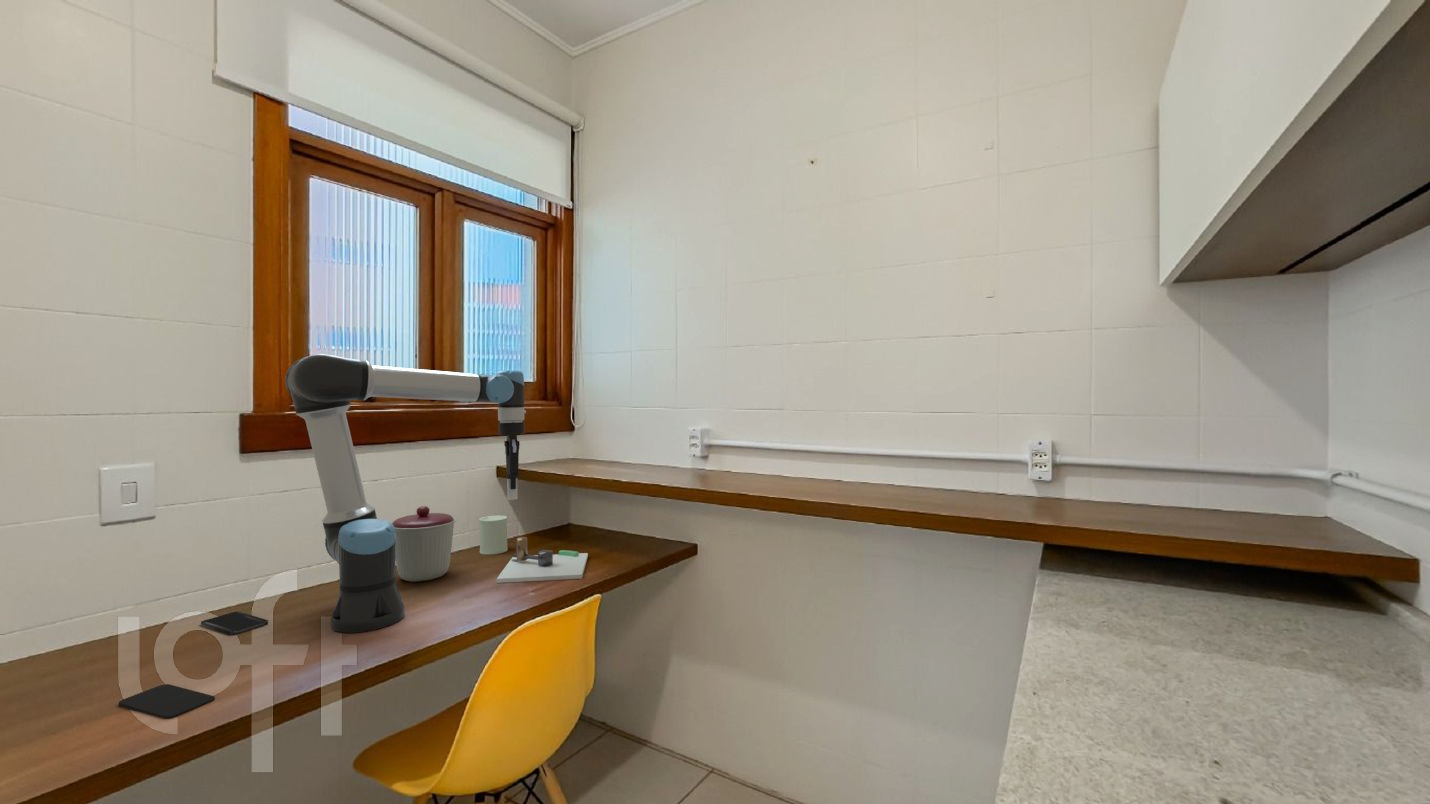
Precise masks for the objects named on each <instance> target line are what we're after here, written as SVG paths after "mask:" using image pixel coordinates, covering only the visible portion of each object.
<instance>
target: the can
mask: <svg viewBox="0 0 1430 804" xmlns="http://www.w3.org/2000/svg"><path fill="white" fill-rule="evenodd" d="M478 521H479V554H481V555H486V556H487V555H490V556H491V555H498V554H503V553H505V552H508V550H509V549H508V516H507V515H488V516H483V517H479V519H478Z"/></svg>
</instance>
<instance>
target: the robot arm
mask: <svg viewBox="0 0 1430 804" xmlns="http://www.w3.org/2000/svg"><path fill="white" fill-rule="evenodd" d="M285 375H286V376H285V386H286V389H287V390H288V392H289V394H290V395H291V398H292V401H293V406H294V412H295V415H296V416H299V418H302V419H304V421H305V424H306V429H307V432H308V437H309V441H310V446H311V449H312V453H313V457H314V461H315V462H314V463H315V466H316V470H317V474H318V477H319V482H320V487H321V490H322V495H323V499H324V503H325V506H326V507H325V508H326V511H327V513H326V515H325V516H324V518H323V519H322V526H323V529H324V530H323V531H324V534H325V537H324V538H325V539H324V541H325V542H324V546H325V550H326V552H327V554H328V555H329V556H330V557H331V559H332V560H334V561H335V562H336V563H337V564H338V565H339V567H338V568H339V573H338V574H339V594H338V597H337V600H336V604H335V606H334V609H333V612H332V615H331V620H330V621H331V624H330V625H331V630H333V631H335V632H338V633H348V634H349V633H350V634H351V633H353V634H354V633H362V632H368V631H373V630H378V629H382V628H385V627H388V626H391V625H393V624H395V623H398V622H399V621H401V620H402V619H403V618H404V617H405V604H404V602H403V598H402V597H401V594H400V592H399V589H398V587H397V586H398V585H397V579H396V575H397V574H396V573H397V572H396V569H397V565H396V559H395V540H396V534H395V529H394V526H393V524H392V522H391V521H389V520H385V519H379V518H378V516H377V513H376V508H375V507H374V506H373V505H370V504H369V503H368V502H367V501H366V500H367V499H366V496H365V491H364V486H363V483H362V479H361V474H360V469H359V466H358V461H357V457H356V452H355V447H354V444H353V440H352V439H353V438H352V435H351V431H350V426H349V422H348V418H347V414H346V413H347V411H348V410H349V409H350V408H351V405H352V404H351V401H366V400H368V398H370V397H374V398H390V399H391V398H394V399H395V398H396V399H410V400H411V399H413V400H435V401H436V400H437V401H455V402H456V401H457V402H458V403H462V404H463V403H466V404H474V403H476V404H477V403H482V404H483V403H484V404H486V403H487V404H497V420H498V421H499V423H498V424H497V425H498V435H499V436H506V440H504V441H503V442H504V443H503V444H504V447H505V448H504V453H505V465H506V468H505V469H506V472H505V473H506V476H505V479H506V480H507V481H506V482H507V485H506V486H507V500H508V501H515V500H518V499H519V498H518V497H519V496H518V495H519V492H518V490H519V487H518V478H519V476H520V475H519V464H520V463H519V460H520V459H519V453H520V452H519V451H520V446H521V445H520V441H519V439H518V435H519V436H520V435H524V434H526V433H525V432H526V431H525V429H526V427H525V425H526V423H525V422H523V421H525V414H527V410H525V378H524V373H523V372H522V371H521V370H499V371H498V372H497V374H494V375H491V374H481V373H480V374H477V373H468V372H467V373H466V372H455V371H443V370H433V369H432V370H431V369H421V368H420V369H419V368H407V367H398V366H397V367H396V366H384V365H372V364H371V363H370V362H369V361H368V360H362V359H355V358H347V357H342V356H338V355H337V356H336V355H333V354H327V353H326V354H325V353H317V354H312V355H309V356H305V357H302V358H299V359H298V360H296V361H295V362H293V363H292V365H290V367H289V368H288V370H287V372H286V374H285Z"/></svg>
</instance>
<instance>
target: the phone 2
mask: <svg viewBox="0 0 1430 804" xmlns="http://www.w3.org/2000/svg"><path fill="white" fill-rule="evenodd" d="M268 625H269V620H268V619H265V618H263V617H259V616H255V615H252V614H248V613H245V612H242V611H234V612H233V611H231V612H230V613H226V614H222V615H218V616H215V617H211V618H208V619H205V620H202V621H200V626H201V627H204V628H208V629H210V630H213V631H216V632H219V633H222V634H224V635H227V636H236V635H240V634H243V633H245V632H249V631H253V630H256V629H258V628H262V627H266V626H268Z"/></svg>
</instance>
